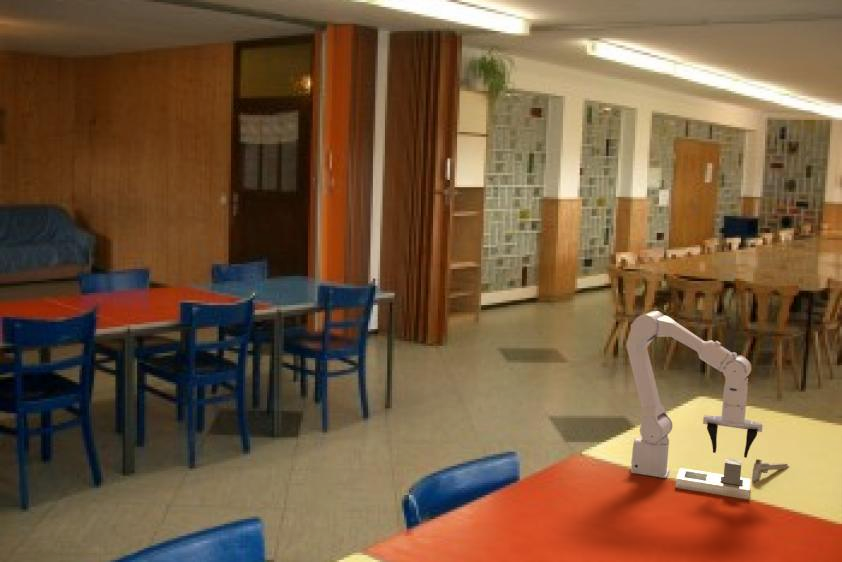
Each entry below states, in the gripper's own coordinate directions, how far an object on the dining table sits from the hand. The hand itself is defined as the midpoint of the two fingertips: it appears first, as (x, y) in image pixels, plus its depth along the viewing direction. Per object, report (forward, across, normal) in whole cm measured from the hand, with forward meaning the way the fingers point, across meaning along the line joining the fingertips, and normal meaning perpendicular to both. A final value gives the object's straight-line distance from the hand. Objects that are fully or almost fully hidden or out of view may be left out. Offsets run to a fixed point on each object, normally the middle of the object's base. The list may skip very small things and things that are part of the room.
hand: (729, 454), depth 230 cm
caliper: (+10, +10, +18) cm, 23 cm away
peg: (+9, +1, -2) cm, 10 cm away
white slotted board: (+9, -3, -1) cm, 10 cm away
